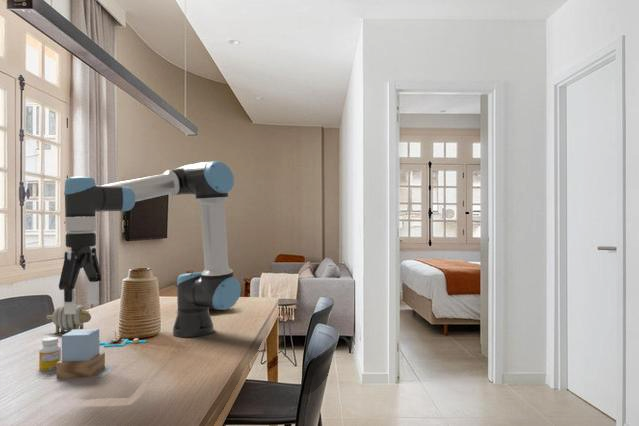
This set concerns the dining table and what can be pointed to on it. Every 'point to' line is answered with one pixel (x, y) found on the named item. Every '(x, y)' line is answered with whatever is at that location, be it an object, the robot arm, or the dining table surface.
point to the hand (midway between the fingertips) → (82, 308)
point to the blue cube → (80, 345)
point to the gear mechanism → (120, 342)
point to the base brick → (81, 367)
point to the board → (100, 373)
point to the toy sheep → (69, 318)
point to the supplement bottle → (49, 354)
